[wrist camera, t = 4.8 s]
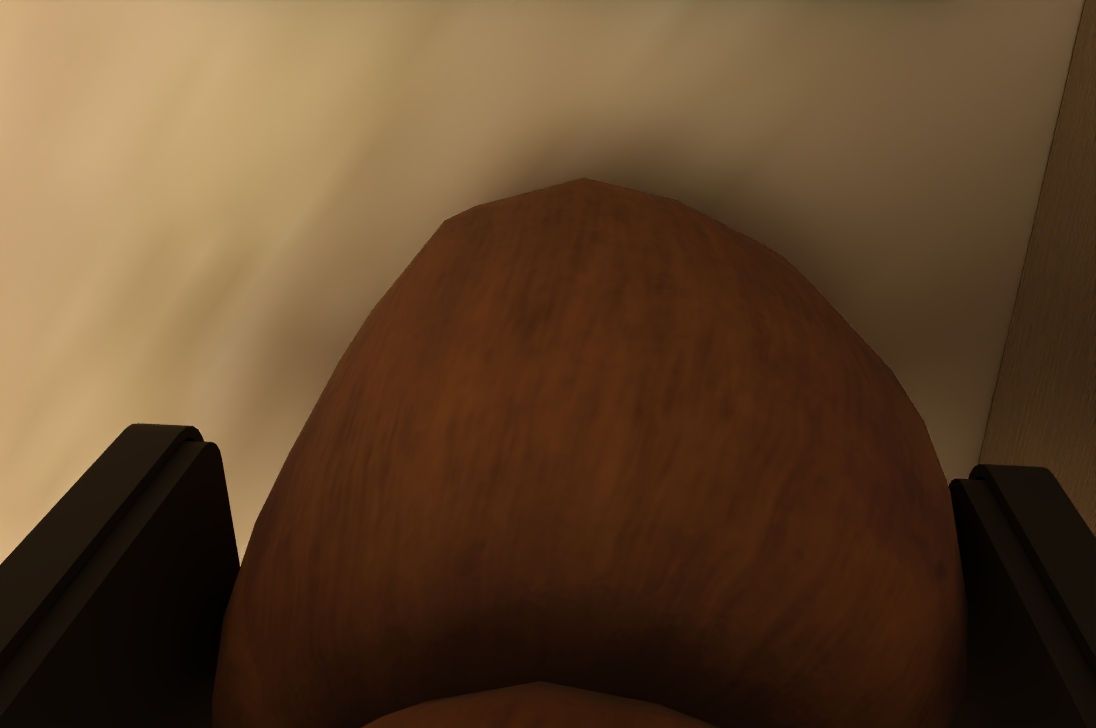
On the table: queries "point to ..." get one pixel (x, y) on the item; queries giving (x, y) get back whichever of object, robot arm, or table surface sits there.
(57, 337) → the table surface
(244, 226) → the table surface
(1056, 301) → the box
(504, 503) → the wooden figurine
